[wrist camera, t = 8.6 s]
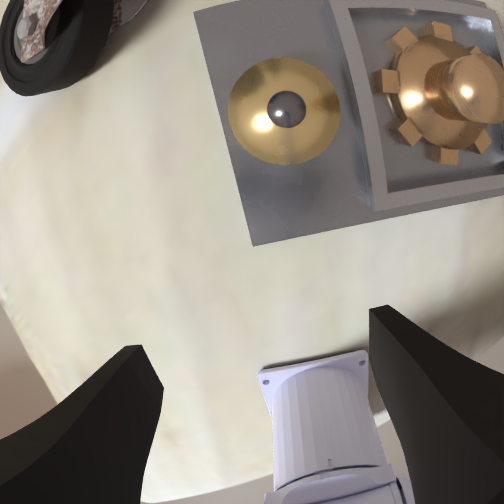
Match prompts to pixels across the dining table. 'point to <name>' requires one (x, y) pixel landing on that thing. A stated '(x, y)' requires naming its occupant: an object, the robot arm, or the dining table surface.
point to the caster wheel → (56, 40)
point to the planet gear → (442, 92)
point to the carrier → (334, 112)
